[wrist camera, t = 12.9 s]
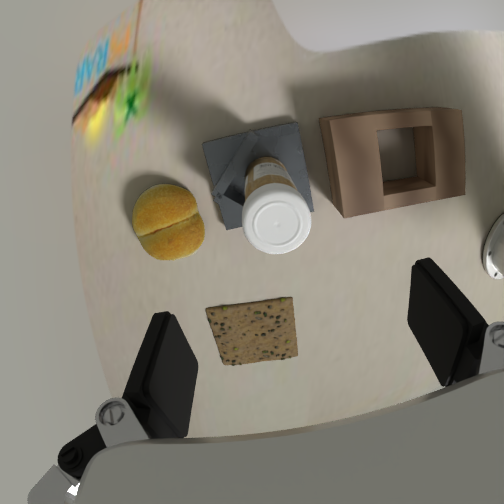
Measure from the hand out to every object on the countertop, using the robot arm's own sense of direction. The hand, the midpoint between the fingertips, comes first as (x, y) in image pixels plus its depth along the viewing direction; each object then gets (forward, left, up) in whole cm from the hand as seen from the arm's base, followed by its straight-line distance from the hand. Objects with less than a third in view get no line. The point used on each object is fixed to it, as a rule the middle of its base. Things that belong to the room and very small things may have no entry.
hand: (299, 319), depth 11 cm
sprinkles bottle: (0, 0, -23) cm, 23 cm away
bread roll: (+12, +3, -24) cm, 27 cm away
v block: (0, 0, -24) cm, 24 cm away
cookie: (+6, +22, -24) cm, 33 cm away
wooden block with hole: (-15, 0, -24) cm, 28 cm away
